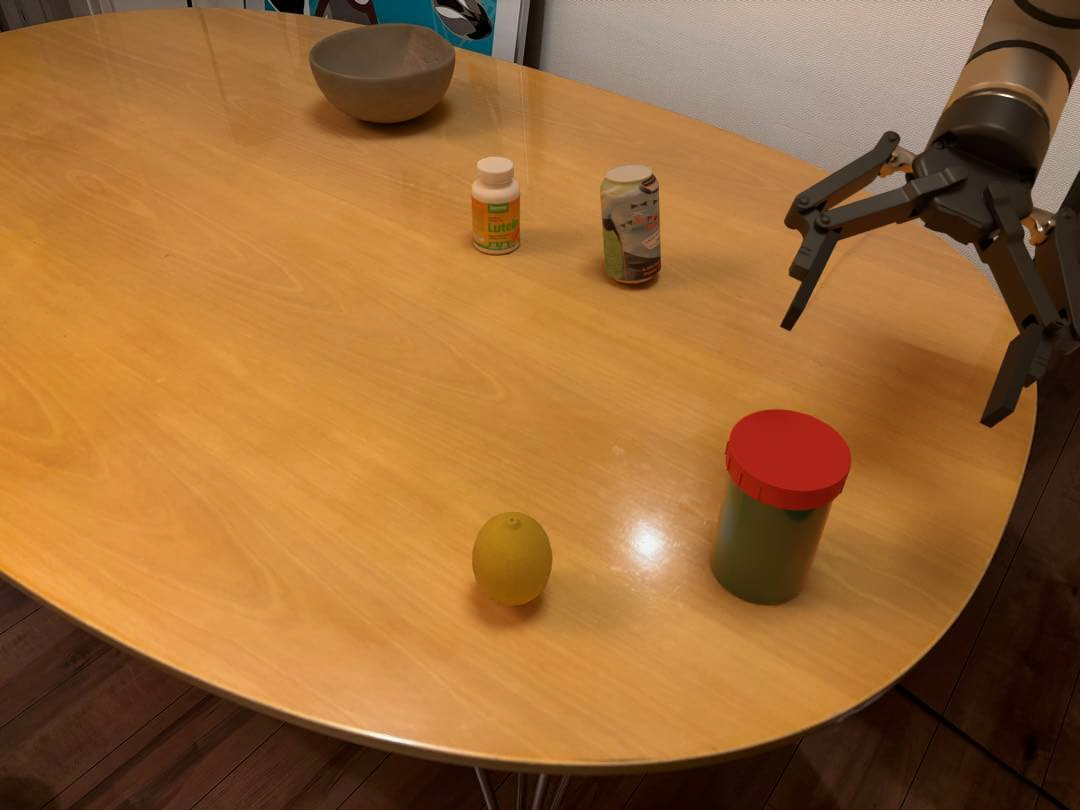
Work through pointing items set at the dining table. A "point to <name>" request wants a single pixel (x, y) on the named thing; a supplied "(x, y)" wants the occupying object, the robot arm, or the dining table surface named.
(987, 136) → the robot arm
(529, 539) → the lemon
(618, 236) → the beverage can
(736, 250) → the dining table surface
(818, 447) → the cap
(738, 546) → the jar
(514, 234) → the supplement bottle
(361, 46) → the bowl
